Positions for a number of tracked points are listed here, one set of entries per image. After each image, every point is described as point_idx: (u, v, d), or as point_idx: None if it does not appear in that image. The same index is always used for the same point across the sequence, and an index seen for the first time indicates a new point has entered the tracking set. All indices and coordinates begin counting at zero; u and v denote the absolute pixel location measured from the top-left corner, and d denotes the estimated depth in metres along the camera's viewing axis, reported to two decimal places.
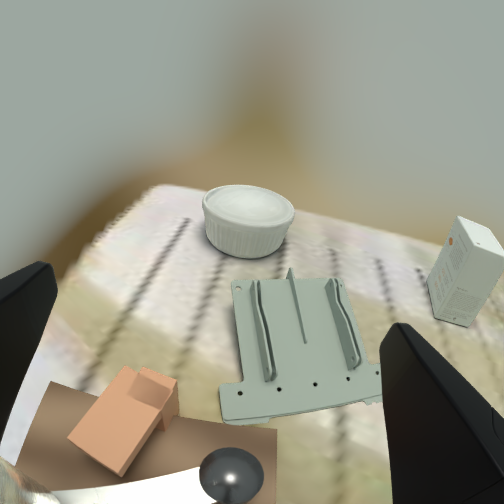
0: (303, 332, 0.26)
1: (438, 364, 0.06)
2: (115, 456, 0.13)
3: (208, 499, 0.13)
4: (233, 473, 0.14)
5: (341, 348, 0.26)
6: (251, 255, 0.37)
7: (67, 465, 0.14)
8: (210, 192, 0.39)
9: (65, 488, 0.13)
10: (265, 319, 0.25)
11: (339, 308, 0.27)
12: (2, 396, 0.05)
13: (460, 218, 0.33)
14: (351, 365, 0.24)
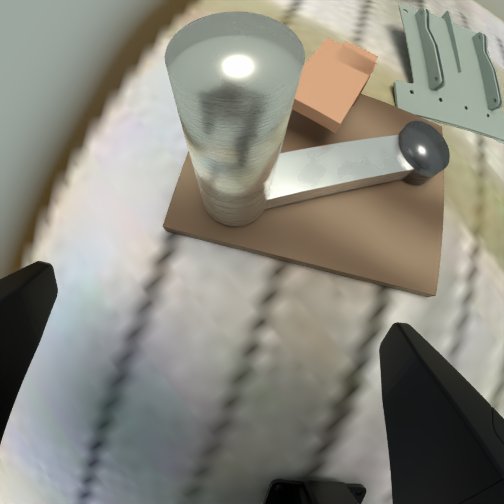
0: (458, 63, 0.20)
1: (438, 364, 0.06)
2: (336, 108, 0.16)
3: (407, 165, 0.17)
4: (428, 144, 0.17)
5: (484, 89, 0.21)
6: None
7: None
8: None
9: None
10: (433, 39, 0.19)
11: (486, 57, 0.19)
12: (2, 396, 0.05)
13: None
14: (492, 105, 0.20)
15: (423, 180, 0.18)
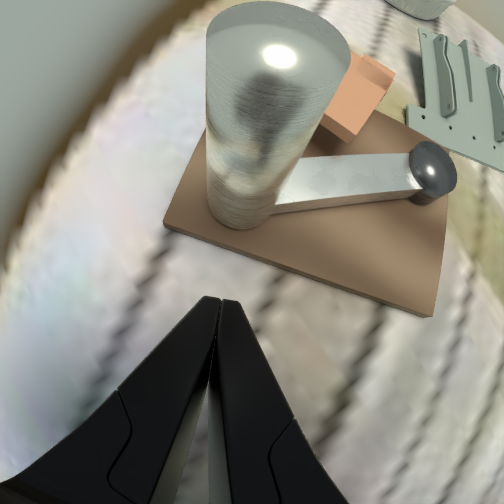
0: (471, 92, 0.21)
1: (239, 349, 0.06)
2: (352, 120, 0.16)
3: (416, 184, 0.17)
4: (437, 165, 0.17)
5: (492, 121, 0.22)
6: (415, 13, 0.25)
7: None
8: None
9: None
10: (450, 67, 0.20)
11: (498, 89, 0.20)
12: (184, 456, 0.05)
13: None
14: (499, 138, 0.21)
15: (429, 201, 0.18)
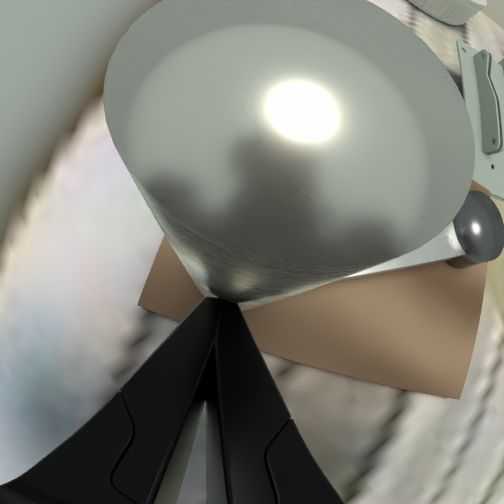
0: None
1: (236, 348, 0.06)
2: None
3: (459, 249, 0.13)
4: (485, 223, 0.13)
5: None
6: (442, 18, 0.21)
7: None
8: None
9: None
10: (494, 92, 0.15)
11: None
12: (186, 457, 0.05)
13: None
14: None
15: (470, 265, 0.14)
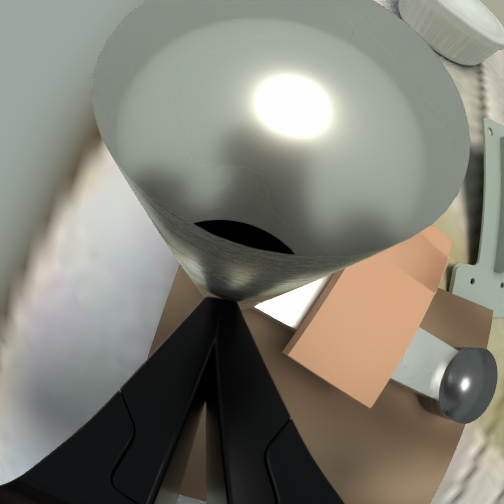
0: None
1: (236, 348, 0.06)
2: (370, 380, 0.10)
3: (436, 392, 0.11)
4: (476, 386, 0.11)
5: None
6: (457, 59, 0.19)
7: None
8: None
9: None
10: None
11: None
12: (187, 457, 0.05)
13: None
14: None
15: (436, 414, 0.12)
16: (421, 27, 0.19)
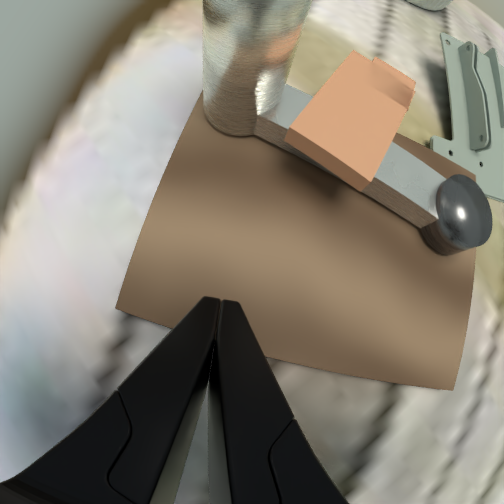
0: (502, 115, 0.16)
1: (239, 349, 0.06)
2: (365, 157, 0.11)
3: (433, 210, 0.13)
4: (471, 209, 0.12)
5: None
6: (421, 3, 0.21)
7: (248, 181, 0.14)
8: None
9: (244, 218, 0.14)
10: (481, 85, 0.15)
11: None
12: (184, 456, 0.05)
13: None
14: None
15: (440, 244, 0.13)
16: None
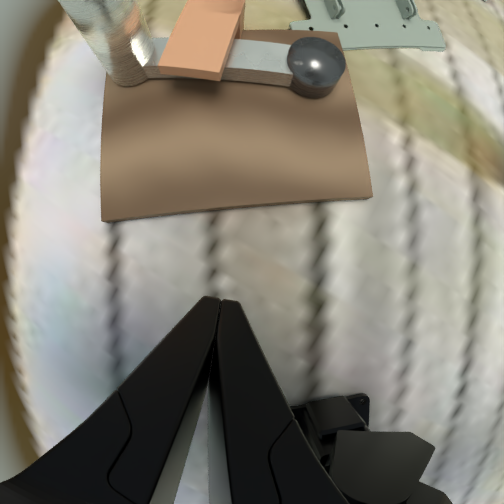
0: None
1: (239, 349, 0.06)
2: (211, 59, 0.15)
3: (287, 70, 0.17)
4: (319, 57, 0.16)
5: (394, 0, 0.19)
6: None
7: (154, 108, 0.18)
8: None
9: (159, 130, 0.18)
10: None
11: None
12: (184, 456, 0.05)
13: None
14: (406, 15, 0.19)
15: (307, 91, 0.18)
16: None
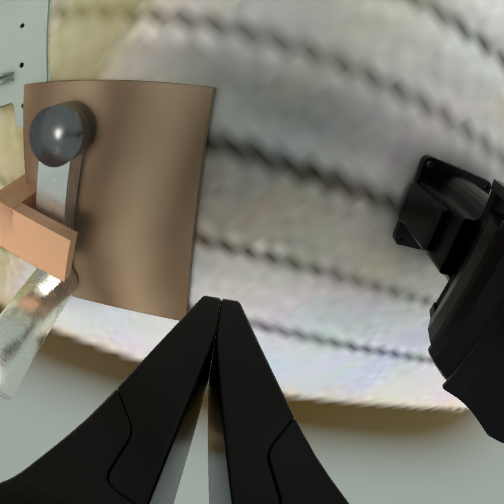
0: None
1: (239, 349, 0.06)
2: (58, 243, 0.17)
3: (65, 166, 0.16)
4: (51, 135, 0.14)
5: None
6: None
7: (98, 267, 0.22)
8: None
9: (118, 267, 0.22)
10: None
11: None
12: (184, 456, 0.05)
13: None
14: None
15: (87, 142, 0.16)
16: None
